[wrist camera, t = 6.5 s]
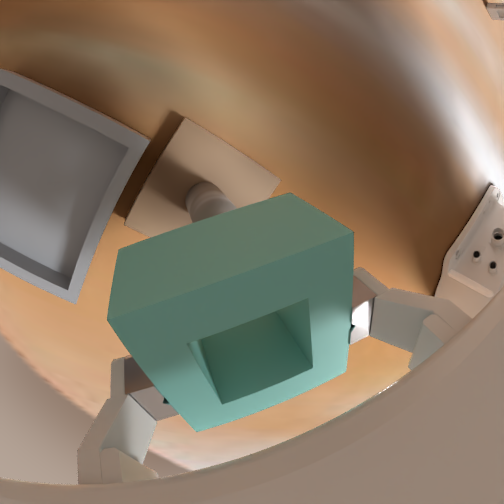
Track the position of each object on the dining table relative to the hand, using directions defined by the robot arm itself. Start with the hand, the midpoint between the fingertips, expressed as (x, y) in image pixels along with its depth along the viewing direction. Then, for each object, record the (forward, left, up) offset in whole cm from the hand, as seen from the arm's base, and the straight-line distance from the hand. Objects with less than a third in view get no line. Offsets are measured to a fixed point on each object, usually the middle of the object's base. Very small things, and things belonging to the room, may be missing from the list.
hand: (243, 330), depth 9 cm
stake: (-2, -1, -10) cm, 10 cm away
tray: (+2, -11, -10) cm, 15 cm away
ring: (0, 0, -2) cm, 2 cm away
